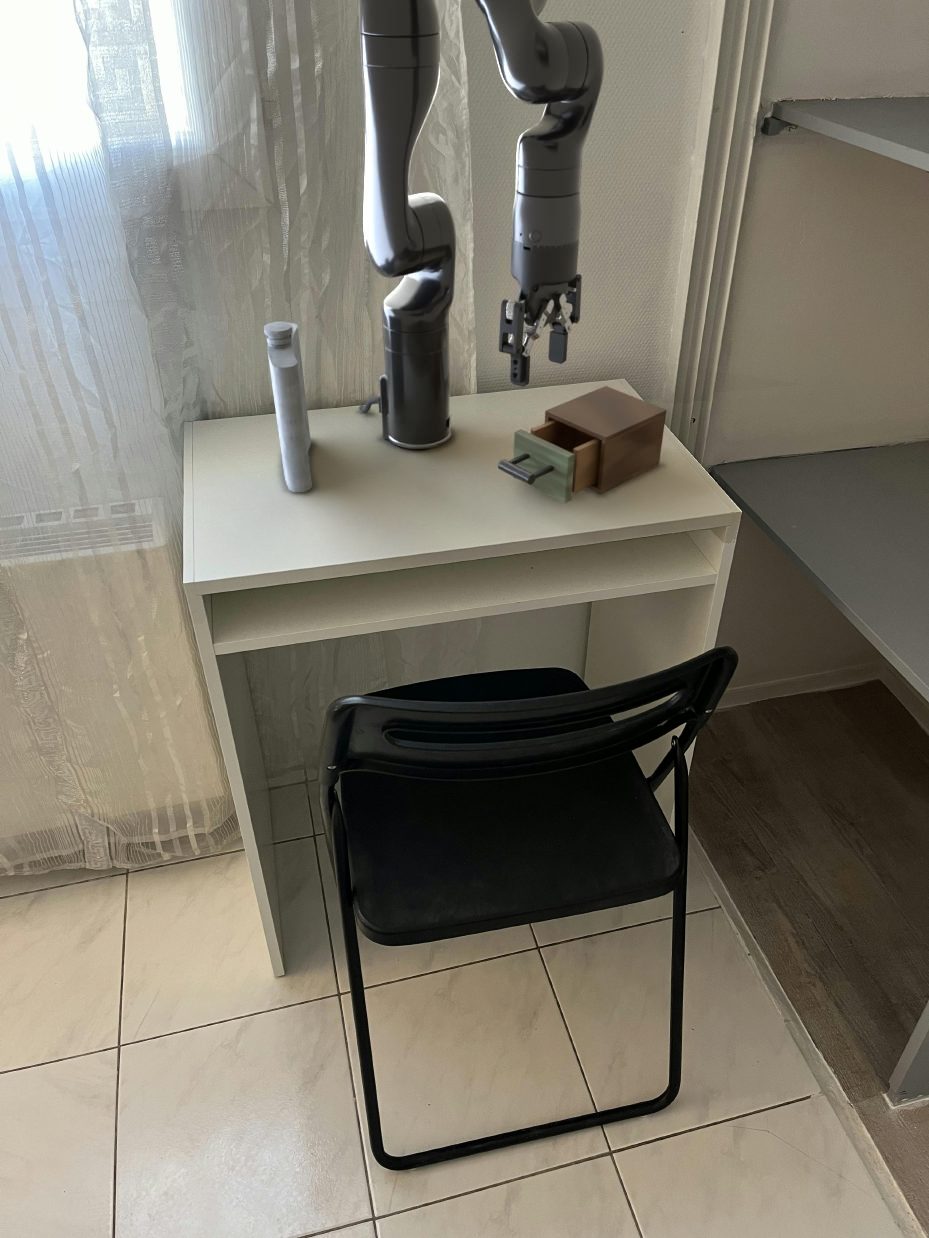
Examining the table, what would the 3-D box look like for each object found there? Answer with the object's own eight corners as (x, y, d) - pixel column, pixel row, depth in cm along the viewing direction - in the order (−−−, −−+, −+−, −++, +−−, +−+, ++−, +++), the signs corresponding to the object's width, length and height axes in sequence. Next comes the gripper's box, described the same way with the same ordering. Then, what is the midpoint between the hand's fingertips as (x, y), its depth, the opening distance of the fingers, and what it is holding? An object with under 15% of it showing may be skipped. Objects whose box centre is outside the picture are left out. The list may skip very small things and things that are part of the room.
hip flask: (312, 491, 126) (295, 347, 114) (281, 493, 125) (261, 348, 113) (310, 439, 138) (295, 303, 126) (283, 440, 138) (265, 305, 126)
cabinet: (600, 494, 125) (606, 437, 120) (542, 466, 131) (545, 410, 126) (659, 465, 132) (666, 409, 126) (600, 439, 138) (605, 385, 133)
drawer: (538, 516, 119) (541, 469, 115) (486, 488, 125) (487, 443, 121) (622, 475, 127) (627, 430, 123) (570, 451, 133) (573, 407, 129)
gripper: (550, 215, 110) (543, 348, 120) (481, 242, 101) (479, 385, 111) (606, 225, 107) (594, 361, 117) (540, 254, 98) (533, 400, 107)
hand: (538, 372), depth 114 cm, fingers open, 8 cm apart
